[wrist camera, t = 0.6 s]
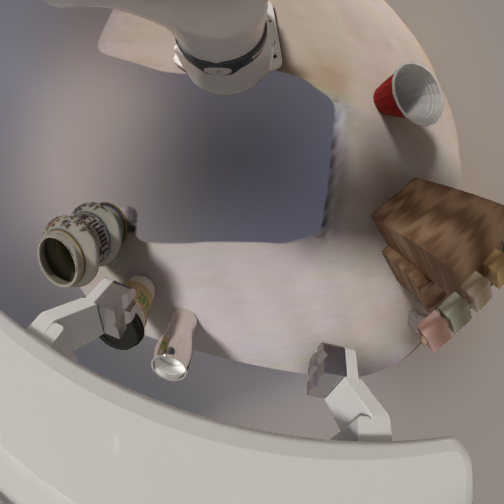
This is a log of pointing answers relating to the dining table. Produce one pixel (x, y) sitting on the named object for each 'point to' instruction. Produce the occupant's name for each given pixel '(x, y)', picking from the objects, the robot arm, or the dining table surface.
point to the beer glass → (175, 346)
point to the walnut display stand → (438, 238)
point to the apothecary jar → (81, 243)
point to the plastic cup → (411, 95)
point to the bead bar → (463, 303)
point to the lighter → (415, 320)
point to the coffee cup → (136, 327)
